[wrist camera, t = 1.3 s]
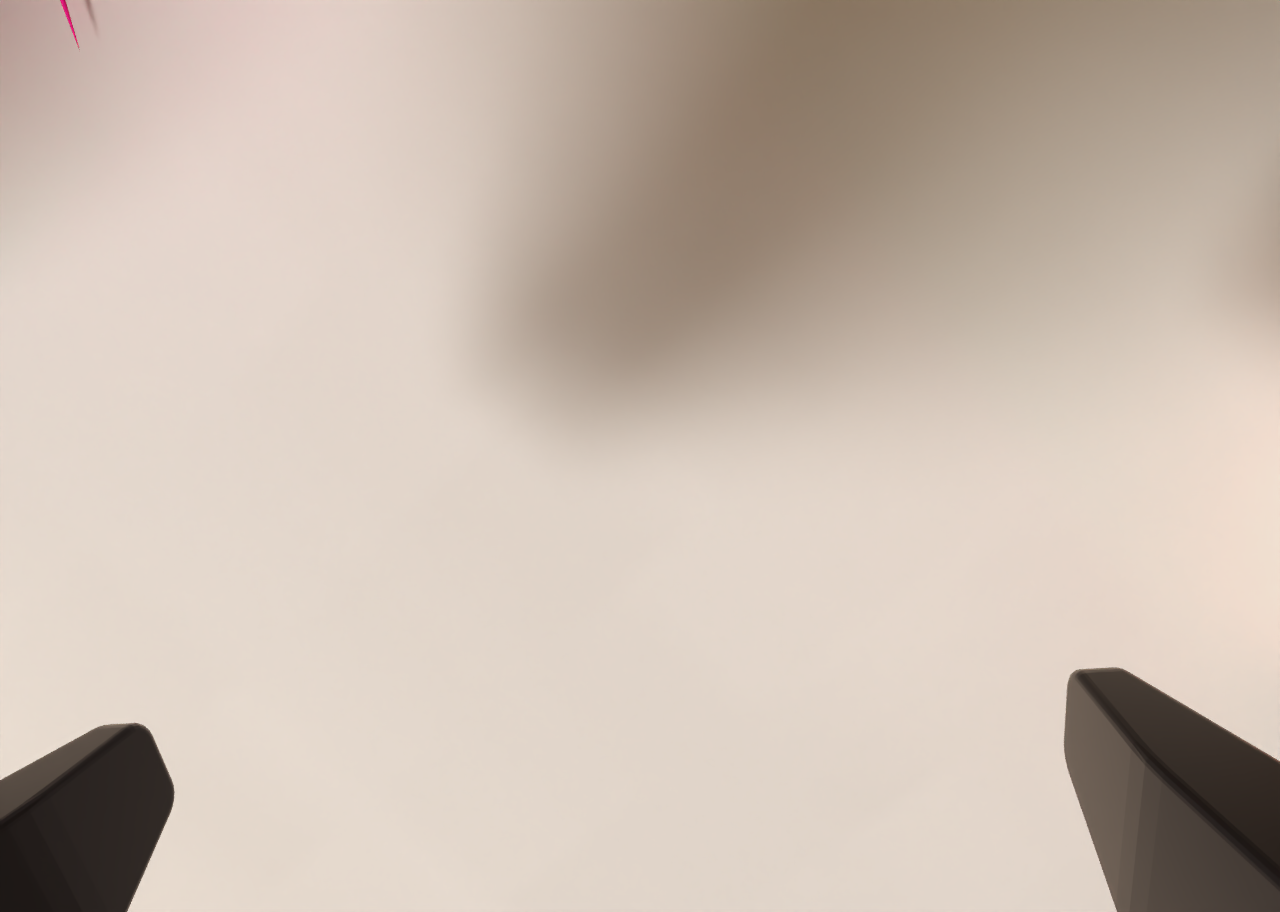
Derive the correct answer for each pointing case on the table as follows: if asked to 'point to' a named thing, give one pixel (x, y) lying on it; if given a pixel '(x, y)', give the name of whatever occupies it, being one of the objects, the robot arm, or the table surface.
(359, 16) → the table surface
